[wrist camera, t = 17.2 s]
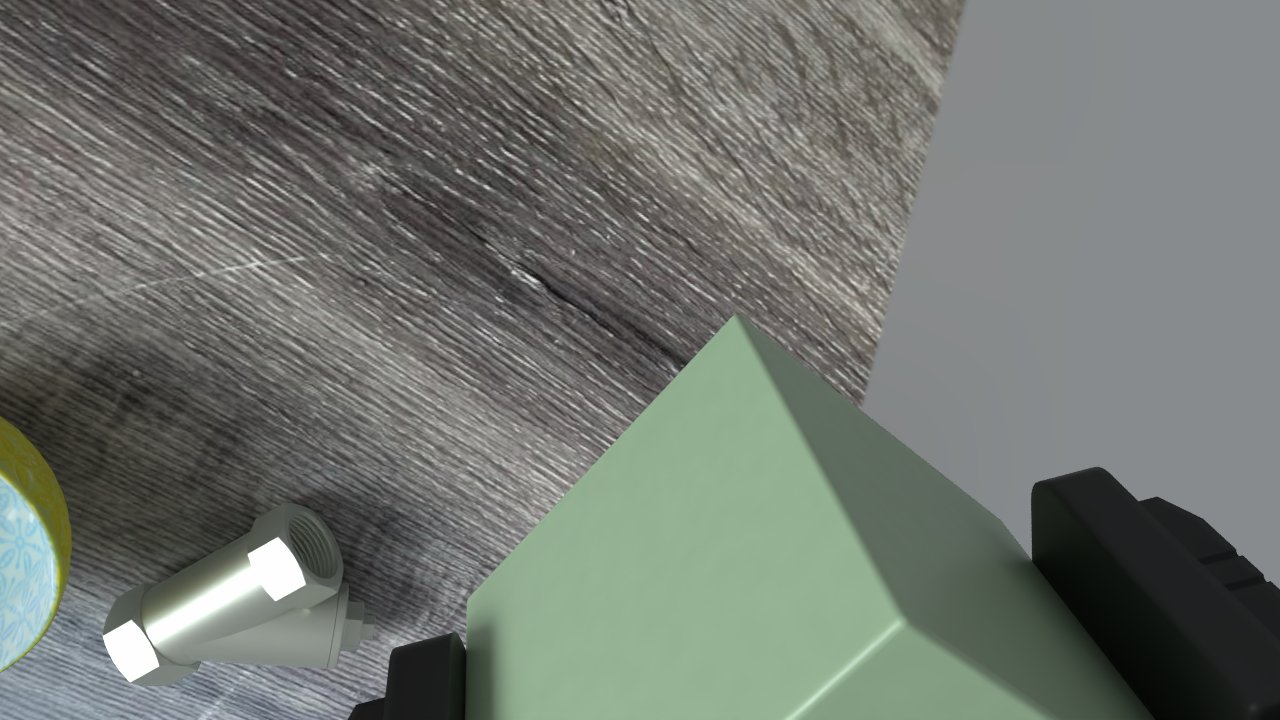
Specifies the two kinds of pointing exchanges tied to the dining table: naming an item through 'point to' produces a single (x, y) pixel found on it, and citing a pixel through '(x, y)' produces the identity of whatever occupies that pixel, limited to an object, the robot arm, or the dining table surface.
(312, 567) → the pipe fitting
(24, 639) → the bowl
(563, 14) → the dining table surface
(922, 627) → the block
